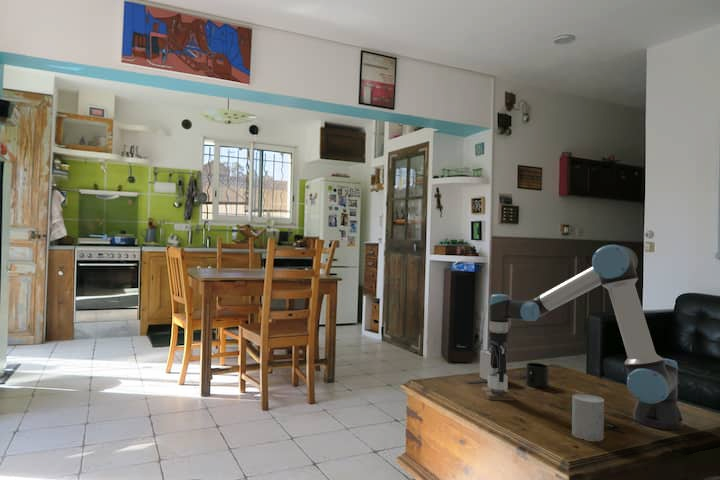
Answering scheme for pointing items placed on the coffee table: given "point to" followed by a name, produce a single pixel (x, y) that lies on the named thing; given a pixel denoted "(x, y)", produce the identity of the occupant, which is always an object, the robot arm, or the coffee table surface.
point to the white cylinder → (588, 417)
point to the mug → (537, 375)
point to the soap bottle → (485, 363)
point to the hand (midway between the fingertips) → (497, 386)
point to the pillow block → (497, 393)
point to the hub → (493, 381)
